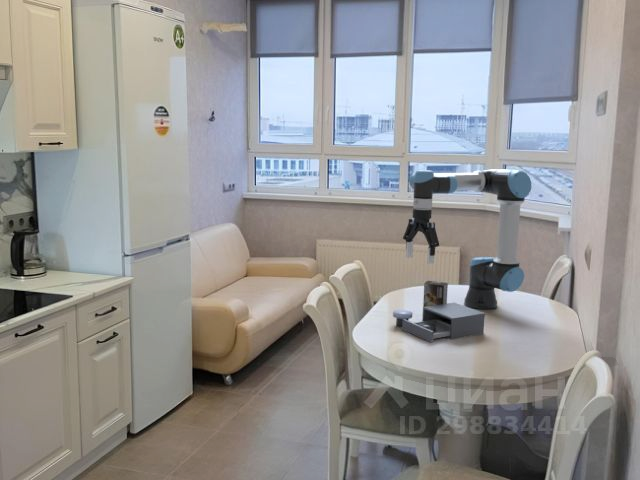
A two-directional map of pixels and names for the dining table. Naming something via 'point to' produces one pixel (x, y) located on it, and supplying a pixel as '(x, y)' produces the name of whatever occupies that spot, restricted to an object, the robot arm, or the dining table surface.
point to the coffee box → (435, 293)
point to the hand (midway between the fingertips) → (419, 260)
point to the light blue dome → (402, 314)
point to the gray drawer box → (457, 319)
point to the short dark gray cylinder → (399, 322)
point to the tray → (427, 329)
